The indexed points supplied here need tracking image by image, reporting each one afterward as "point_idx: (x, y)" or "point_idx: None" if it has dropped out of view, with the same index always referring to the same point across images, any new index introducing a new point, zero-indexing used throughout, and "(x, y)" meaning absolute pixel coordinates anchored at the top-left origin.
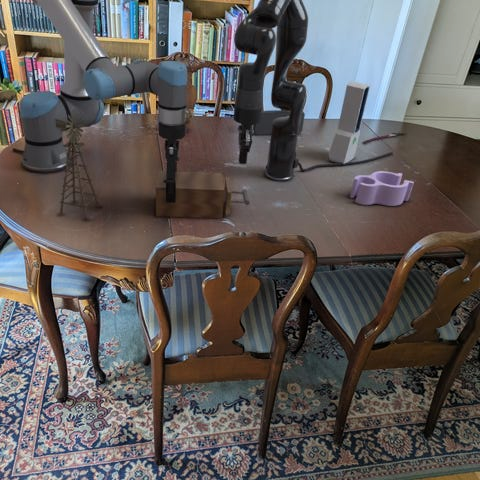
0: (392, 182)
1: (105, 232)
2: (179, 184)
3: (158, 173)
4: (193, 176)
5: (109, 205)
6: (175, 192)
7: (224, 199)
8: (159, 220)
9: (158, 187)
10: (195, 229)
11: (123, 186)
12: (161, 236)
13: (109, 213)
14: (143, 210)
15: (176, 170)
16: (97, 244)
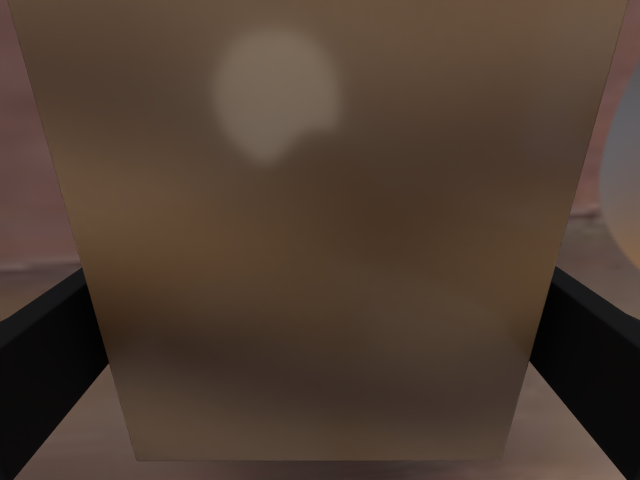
0: None
1: (531, 458)
2: (455, 265)
3: (201, 455)
4: (184, 70)
5: (317, 468)
6: (592, 291)
7: None
8: None
9: (505, 442)
10: None
11: (130, 442)
12: (617, 263)
13: (384, 461)
14: None
15: (61, 303)
16: (610, 469)
